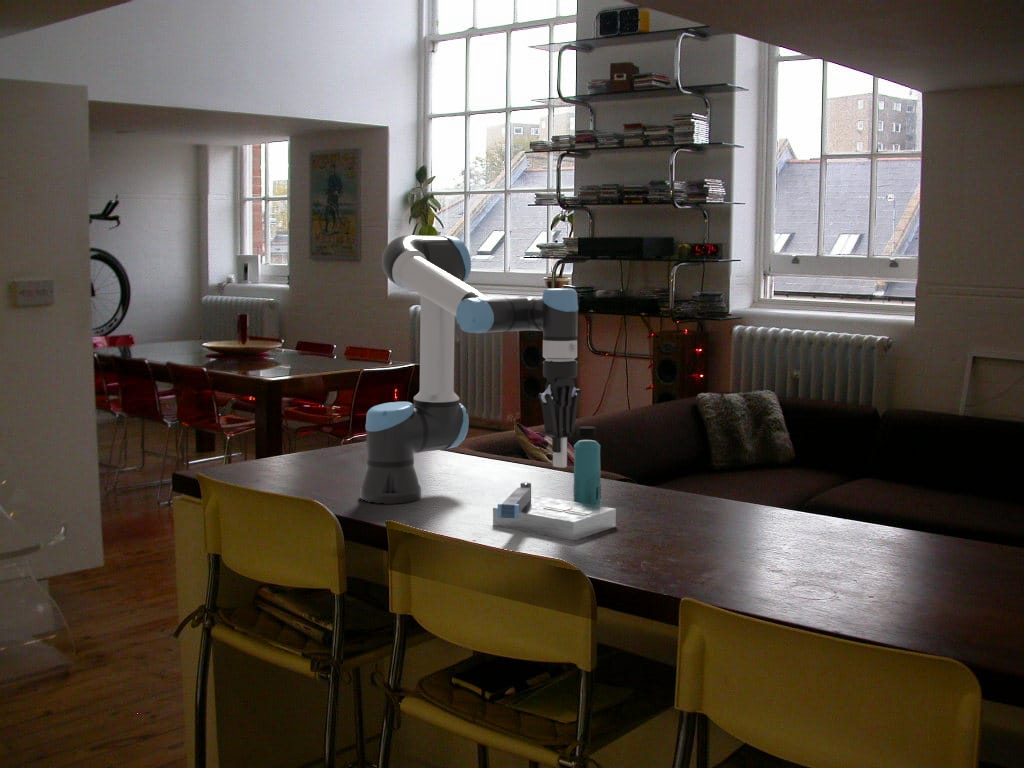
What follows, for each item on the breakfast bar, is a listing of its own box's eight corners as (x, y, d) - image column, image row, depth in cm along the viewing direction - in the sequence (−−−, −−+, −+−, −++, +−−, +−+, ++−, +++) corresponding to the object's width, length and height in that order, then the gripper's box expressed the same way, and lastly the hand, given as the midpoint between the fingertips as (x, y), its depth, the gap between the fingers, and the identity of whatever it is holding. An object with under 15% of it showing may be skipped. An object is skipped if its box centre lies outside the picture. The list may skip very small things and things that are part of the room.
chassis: (492, 525, 244) (492, 487, 243) (536, 512, 257) (536, 476, 256) (573, 540, 231) (573, 500, 230) (615, 526, 243) (615, 488, 242)
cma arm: (514, 499, 246) (514, 487, 246) (533, 500, 245) (533, 488, 245) (497, 517, 229) (497, 504, 229) (518, 518, 228) (518, 505, 228)
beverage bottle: (599, 514, 255) (599, 429, 253) (570, 512, 256) (571, 428, 254) (602, 508, 261) (603, 425, 259) (574, 506, 263) (575, 424, 260)
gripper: (556, 362, 231) (555, 472, 234) (591, 358, 241) (590, 464, 244) (528, 360, 236) (528, 468, 239) (563, 356, 246) (563, 460, 249)
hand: (559, 466), depth 241 cm, fingers closed
